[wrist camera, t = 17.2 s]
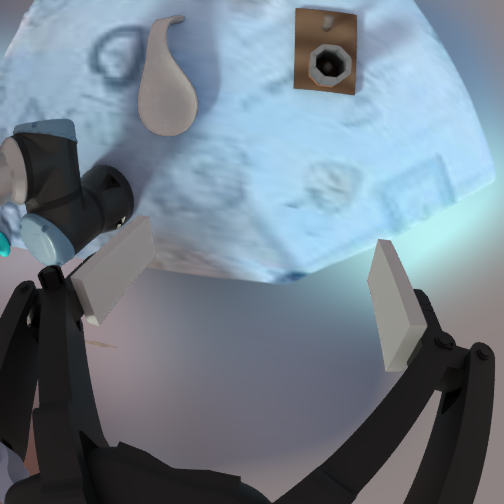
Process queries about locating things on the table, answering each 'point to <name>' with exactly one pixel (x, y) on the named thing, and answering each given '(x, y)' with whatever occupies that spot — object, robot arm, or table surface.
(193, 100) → the spoon rest
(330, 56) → the sleeve
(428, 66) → the table surface
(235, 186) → the table surface
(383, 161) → the table surface
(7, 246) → the donuts
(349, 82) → the pin board
